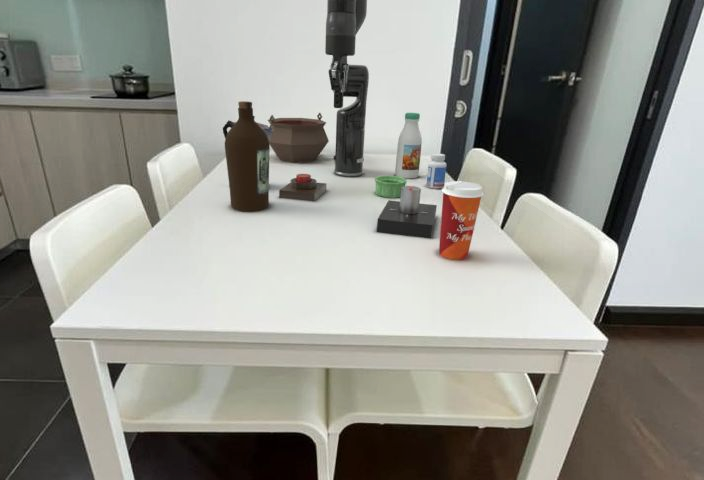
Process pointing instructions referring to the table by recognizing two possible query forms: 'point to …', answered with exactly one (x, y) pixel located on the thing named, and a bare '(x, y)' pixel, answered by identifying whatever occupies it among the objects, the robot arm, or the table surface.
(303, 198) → the dark brown square base
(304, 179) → the power button
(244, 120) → the olive oil
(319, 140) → the brown cauldron
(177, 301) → the table surface
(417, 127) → the milk bottle
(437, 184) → the pill bottle
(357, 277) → the table surface
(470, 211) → the paper cup
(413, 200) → the knob
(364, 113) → the robot arm
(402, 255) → the table surface
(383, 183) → the ramekin
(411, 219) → the panel
